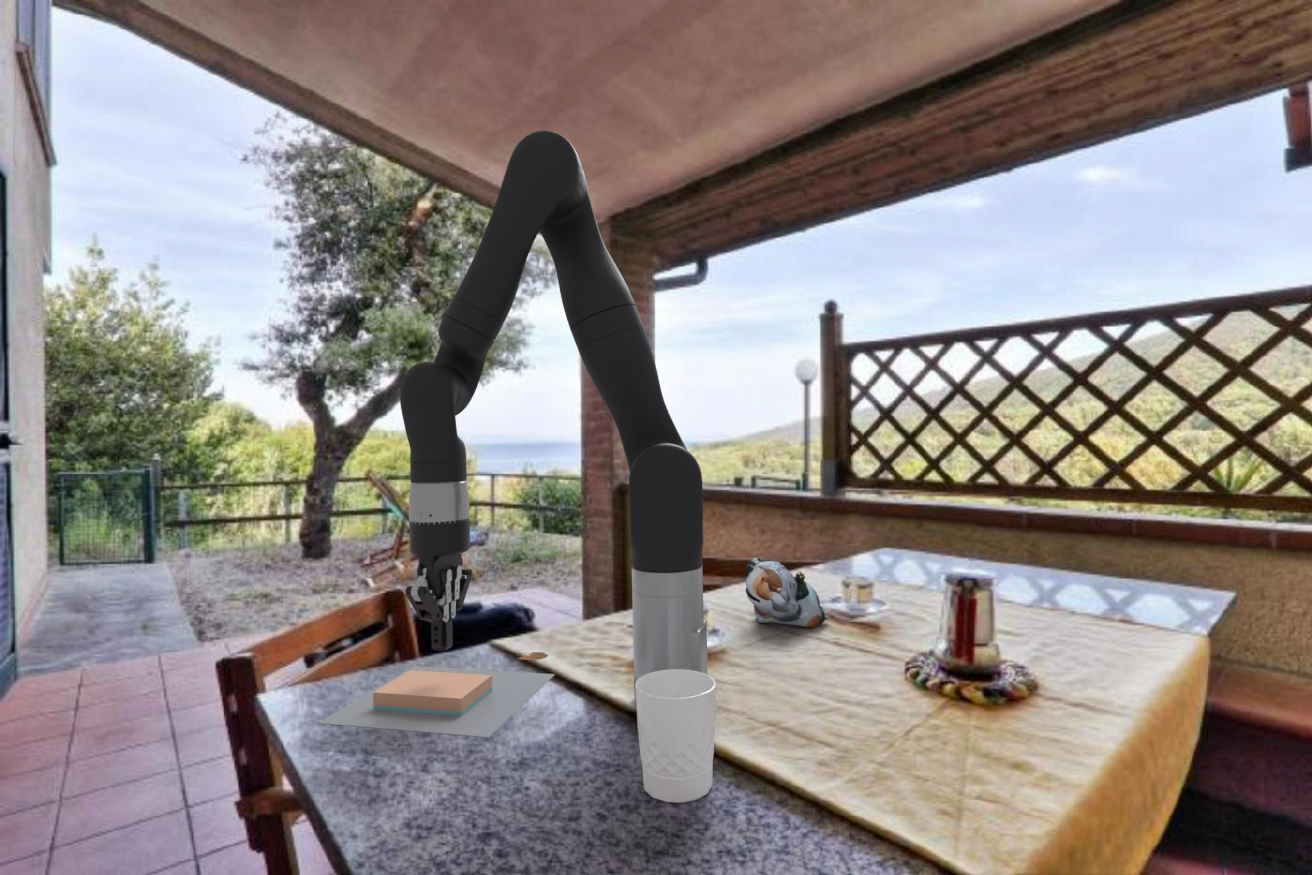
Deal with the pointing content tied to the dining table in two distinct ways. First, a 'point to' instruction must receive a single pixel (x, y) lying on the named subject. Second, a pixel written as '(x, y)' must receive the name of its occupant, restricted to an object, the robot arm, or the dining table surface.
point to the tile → (433, 692)
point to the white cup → (676, 733)
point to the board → (477, 721)
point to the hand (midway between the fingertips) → (442, 648)
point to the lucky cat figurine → (782, 595)
